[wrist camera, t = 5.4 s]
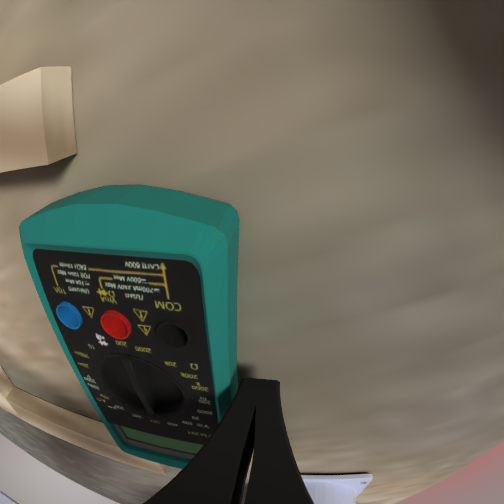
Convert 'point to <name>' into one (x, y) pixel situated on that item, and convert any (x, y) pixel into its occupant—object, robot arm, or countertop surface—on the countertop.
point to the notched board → (31, 155)
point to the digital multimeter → (143, 309)
